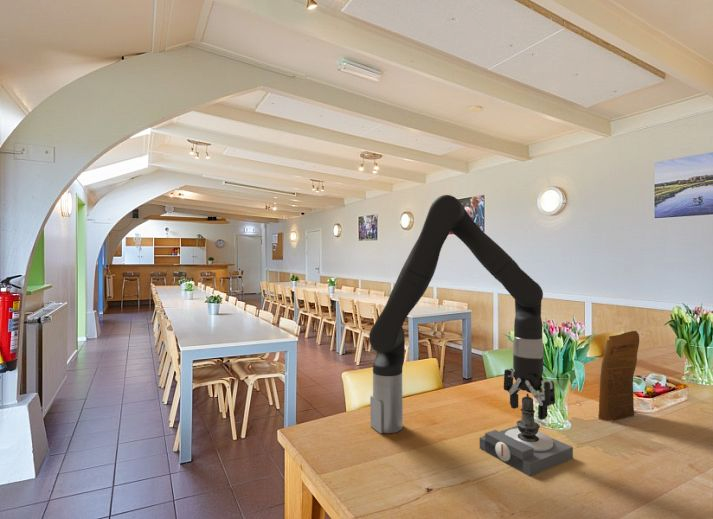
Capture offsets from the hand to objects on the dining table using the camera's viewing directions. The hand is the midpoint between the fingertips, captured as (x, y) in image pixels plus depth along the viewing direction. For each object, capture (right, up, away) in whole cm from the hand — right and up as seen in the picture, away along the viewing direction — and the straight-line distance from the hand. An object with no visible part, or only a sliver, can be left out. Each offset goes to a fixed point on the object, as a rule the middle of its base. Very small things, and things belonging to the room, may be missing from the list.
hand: (527, 413), depth 106 cm
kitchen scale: (-1, -10, -1) cm, 11 cm away
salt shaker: (0, -7, 0) cm, 7 cm away
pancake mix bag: (+40, -10, +23) cm, 48 cm away
